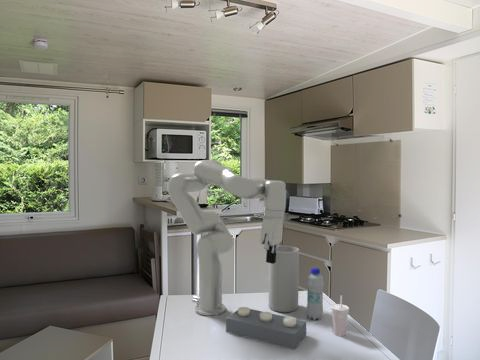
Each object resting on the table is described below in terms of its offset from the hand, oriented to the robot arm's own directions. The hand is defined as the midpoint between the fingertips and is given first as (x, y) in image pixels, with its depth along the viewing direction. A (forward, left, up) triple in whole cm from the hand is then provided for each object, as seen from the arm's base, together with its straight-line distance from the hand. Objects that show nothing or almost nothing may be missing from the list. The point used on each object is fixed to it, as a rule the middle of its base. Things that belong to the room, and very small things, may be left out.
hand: (270, 262), depth 138 cm
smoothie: (+24, +6, -24) cm, 35 cm away
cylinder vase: (-3, +19, -24) cm, 31 cm away
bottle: (+12, +15, -24) cm, 31 cm away
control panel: (+1, -7, -24) cm, 25 cm away
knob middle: (+1, -7, -23) cm, 24 cm away
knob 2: (+10, -7, -23) cm, 26 cm away
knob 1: (-8, -7, -23) cm, 25 cm away
